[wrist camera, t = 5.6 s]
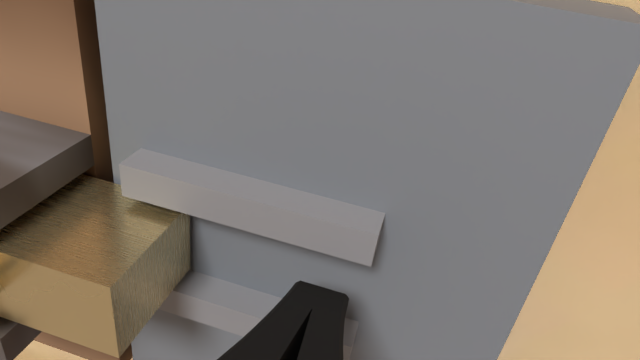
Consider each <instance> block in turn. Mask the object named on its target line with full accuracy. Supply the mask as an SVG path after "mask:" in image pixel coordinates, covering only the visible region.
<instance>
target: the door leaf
mask: <svg viewBox="0 0 640 360" xmlns="http://www.w3.org/2000/svg"><path fill="white" fill-rule="evenodd" d="M94 1H95V11H96V20H97V29H98V39H99V48H100V57H101V67H102V76H103V85H104V95H105V104H106V113H107V122H108V132H109V141H110V150H111V160H112V169H113V178H114V183H116V184H119V185H121V190H122V196H125V197H129V198H132V199H136V200H139V201H143V202H146V203H150V204H153V205H157V206H160V207H164V208H167V209H171V210H174V211H178V212H181V213H184V214H188V215H190V269H189V270H188V271H187V273H186V274H185V275H184V277H183V278H182V279H181V280H180V282H179V283H178V284H177V285H176V287H175V288H174V289H173V290H172V292H171V293H170V294H169V296H168V297H167V298H166V299H165V301H164V302H163V303H162V304H161V306H160V307H159V308H158V310H157V311H156V312H155V313H154V315H153V316H152V317H151V318H150V320H149V321H148V322H147V323H146V325H145V326H144V327H143V329H142V330H141V331H140V332H139V334H138V335H137V336H136V337H135V339H134V340H133V341H132V342H131V346H132V355H133V360H217V359H218V358H219V357H221V356H222V355H223V354H224V353H225V352H226V351H228V350H229V349H230V348H231V347H232V346H234V345H235V344H236V343H237V342H238V341H239V340H241V339H242V338H243V337H244V336H245V335H246V334H247V333H248V332H249V331H251V330H252V329H253V328H254V327H255V326H256V325H257V324H258V323H259V322H260V321H261V320H262V319H263V318H264V317H265V316H266V315H267V314H268V313H269V312H270V311H271V310H272V309H273V308H274V307H275V306H276V305H277V304H278V303H279V302H280V301H281V299H282V298H283V297H284V296H285V295H286V294H287V293H288V291H289V290H290V289H291V288H292V286H293V285H294V284H295V283H296V282H298V281H300V280H301V281H304V282H307V283H311V284H314V285H317V286H321V287H324V288H327V289H331V290H334V291H337V292H341V293H344V294H346V295H347V296H348V298H349V303H348V307H347V312H346V316H345V322H344V336H343V360H497V358H498V356H499V354H500V352H501V350H502V348H503V346H504V344H505V342H506V340H507V338H508V336H509V334H510V331H511V329H512V327H513V325H514V323H515V321H516V319H517V317H518V315H519V313H520V311H521V309H522V307H523V304H524V302H525V300H526V298H527V296H528V294H529V292H530V290H531V288H532V286H533V284H534V282H535V280H536V278H537V275H538V273H539V271H540V269H541V267H542V265H543V263H544V261H545V259H546V257H547V255H548V253H549V251H550V248H551V246H552V244H553V242H554V240H555V238H556V236H557V234H558V232H559V230H560V228H561V226H562V224H563V222H564V219H565V217H566V215H567V213H568V211H569V209H570V207H571V205H572V203H573V201H574V199H575V197H576V195H577V192H578V190H579V188H580V186H581V184H582V182H583V180H584V178H585V176H586V174H587V172H588V170H589V168H590V166H591V163H592V161H593V159H594V157H595V155H596V153H597V151H598V149H599V147H600V145H601V143H602V141H603V139H604V137H605V134H606V132H607V130H608V128H609V126H610V124H611V122H612V120H613V118H614V116H615V114H616V112H617V110H618V107H619V105H620V103H621V101H622V99H623V97H624V95H625V93H626V91H627V89H628V87H629V85H630V83H631V81H632V78H633V76H634V74H635V72H636V70H637V68H638V66H639V64H640V15H639V14H638V13H636V12H635V11H634V10H632V9H631V8H629V7H623V6H618V5H612V4H607V3H601V2H596V1H590V0H94Z"/></svg>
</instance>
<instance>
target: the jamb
mask: <svg viewBox="0 0 640 360" xmlns="http://www.w3.org/2000/svg"><path fill="white" fill-rule="evenodd" d="M81 174H84V175H87V176H91V177H94V178H98V179H101V180H105V181H108V182H112V183H114V178H113V169H112V160H111V150H110V141H109V132H108V122H107V113H106V104H105V95H104V85H103V76H102V67H101V57H100V48H99V39H98V29H97V20H96V11H95V1H94V0H0V229H2V228H3V227H5V226H6V225H8V224H9V223H11V222H12V221H14V220H15V219H16V218H18V217H19V216H21V215H22V214H24V213H25V212H27V211H28V210H30V209H31V208H33V207H34V206H35V205H37V204H38V203H40V202H41V201H43V200H44V199H46V198H47V197H49V196H50V195H51V194H53V193H54V192H56V191H57V190H59V189H60V188H62V187H63V186H65V185H66V184H68V183H69V182H70V181H72V180H73V179H75V178H76V177H78V176H79V175H81ZM33 340H35V341H38V342H41V343H43V344H46V345H49V346H52V347H55V348H58V349H60V350H63V351H66V352H69V353H72V354H74V355H77V356H80V357H83V358H86V359H89V360H130V359H131V358H132V356H133V355H132V346H131V344H130V345H129V346H128V348H127V349H126V350H125V351H124V353H123V354H122V355H121V356H120V358H117V357H114V356H111V355H108V354H105V353H103V352H100V351H97V350H94V349H91V348H88V347H85V346H83V345H80V344H77V343H74V342H71V341H68V340H65V339H63V338H60V337H57V336H54V335H51V334H48V333H45V332H43V331H40V330H37V329H34V328H31V327H28V326H25V325H23V324H20V323H17V322H14V321H11V320H8V319H5V318H3V317H0V360H13V359H14V358H15V357H16V356H17V355H19V354H20V353H21V352H22V351H23V350H24V349H25V348H26V347H27V346H28V345H29V344H30V343H31V342H32V341H33Z"/></svg>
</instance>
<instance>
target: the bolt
mask: <svg viewBox="0 0 640 360" xmlns="http://www.w3.org/2000/svg"><path fill="white" fill-rule="evenodd" d="M189 269H190V215H188V214H184V213H181V212H178V211H174V210H171V209H167V208H164V207H160V206H157V205H153V204H150V203H146V202H143V201H139V200H136V199H132V198H129V197H125V196H122V190H121V185H119V184H116V183H112V182H108V181H105V180H101V179H98V178H94V177H91V176H87V175H84V174H81V175H79V176H78V177H76V178H75V179H73V180H72V181H70V182H69V183H68V184H66V185H65V186H63V187H62V188H60V189H59V190H57V191H56V192H54V193H53V194H51V195H50V196H49V197H47V198H46V199H44V200H43V201H41V202H40V203H38V204H37V205H35V206H34V207H33V208H31V209H30V210H28V211H27V212H25V213H24V214H22V215H21V216H19V217H18V218H16V219H15V220H14V221H12V222H11V223H9V224H8V225H6V226H5V227H3V228H2V229H0V317H3V318H5V319H8V320H11V321H14V322H17V323H20V324H23V325H25V326H28V327H31V328H34V329H37V330H40V331H43V332H45V333H48V334H51V335H54V336H57V337H60V338H63V339H65V340H68V341H71V342H74V343H77V344H80V345H83V346H85V347H88V348H91V349H94V350H97V351H100V352H103V353H105V354H108V355H111V356H114V357H117V358H120V356H121V355H122V354H123V353H124V351H125V350H126V349H127V348H128V346H129V345H130V344H131V342H132V341H133V340H134V339H135V337H136V336H137V335H138V334H139V332H140V331H141V330H142V329H143V327H144V326H145V325H146V323H147V322H148V321H149V320H150V318H151V317H152V316H153V315H154V313H155V312H156V311H157V310H158V308H159V307H160V306H161V304H162V303H163V302H164V301H165V299H166V298H167V297H168V296H169V294H170V293H171V292H172V290H173V289H174V288H175V287H176V285H177V284H178V283H179V282H180V280H181V279H182V278H183V277H184V275H185V274H186V273H187V271H188V270H189Z"/></svg>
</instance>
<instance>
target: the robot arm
mask: <svg viewBox="0 0 640 360" xmlns="http://www.w3.org/2000/svg"><path fill="white" fill-rule="evenodd" d="M348 303H349V298H348V296H347V295H346V294H344V293H341V292H337V291H334V290H331V289H327V288H324V287H321V286H317V285H314V284H311V283H307V282H304V281H301V280H300V281H298V282H296V283H295V284H294V285H293V286H292V288H291V289H290V290H289V291H288V293H287V294H286V295H285V296H284V297H283V298H282V299H281V301H280V302H279V303H278V304H277V305H276V306H275V307H274V308H273V309H272V310H271V311H270V312H269V313H268V314H267V315H266V316H265V317H264V318H263V319H262V320H261V321H260V322H259V323H258V324H257V325H256V326H255V327H254V328H253V329H252V330H251V331H249V332H248V333H247V334H246V335H245V336H244V337H243V338H242V339H241V340H239V341H238V342H237V343H236V344H235V345H234V346H232V347H231V348H230V349H229V350H228V351H226V352H225V353H224V354H223V355H222V356H221V357H219V358H218V359H217V360H343V336H344V322H345V316H346V312H347V307H348Z"/></svg>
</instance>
